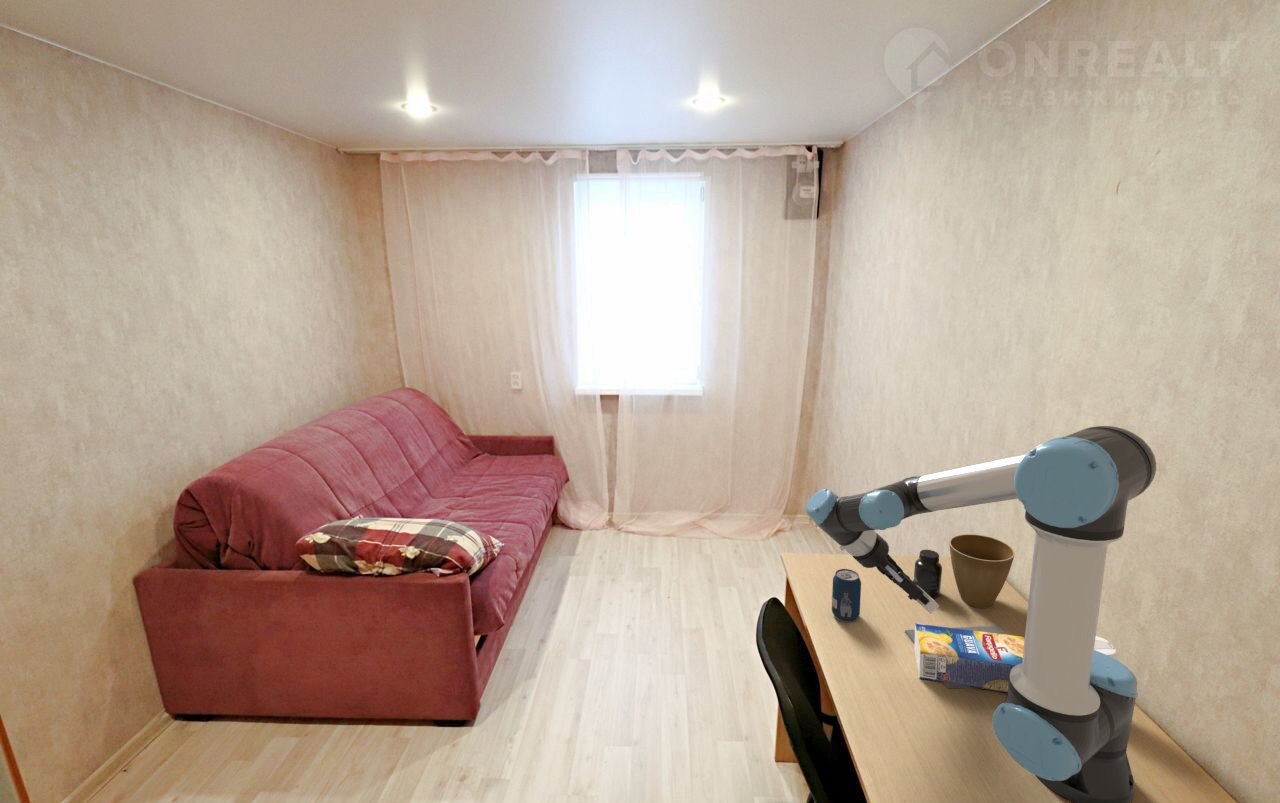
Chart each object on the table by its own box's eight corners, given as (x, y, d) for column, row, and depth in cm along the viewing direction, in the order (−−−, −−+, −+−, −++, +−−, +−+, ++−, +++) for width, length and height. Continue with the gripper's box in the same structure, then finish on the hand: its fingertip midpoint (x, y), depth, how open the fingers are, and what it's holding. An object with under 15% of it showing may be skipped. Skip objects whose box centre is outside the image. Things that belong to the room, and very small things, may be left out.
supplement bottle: (907, 590, 161) (909, 550, 159) (924, 583, 164) (927, 545, 161) (928, 601, 155) (931, 561, 152) (945, 595, 158) (949, 555, 155)
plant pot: (941, 582, 164) (945, 531, 161) (1000, 590, 159) (1006, 537, 156) (949, 611, 150) (954, 556, 147) (1015, 620, 145) (1022, 563, 142)
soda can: (849, 606, 154) (851, 566, 152) (865, 621, 148) (867, 579, 145) (826, 610, 153) (827, 569, 151) (840, 625, 146) (842, 583, 144)
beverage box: (914, 648, 137) (1021, 663, 129) (919, 679, 127) (1036, 697, 119) (915, 623, 135) (1023, 636, 128) (920, 651, 125) (1038, 668, 118)
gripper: (840, 542, 133) (907, 603, 137) (863, 570, 121) (935, 636, 124) (864, 520, 132) (931, 582, 136) (889, 546, 119) (962, 613, 123)
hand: (933, 608), depth 130 cm, fingers closed
